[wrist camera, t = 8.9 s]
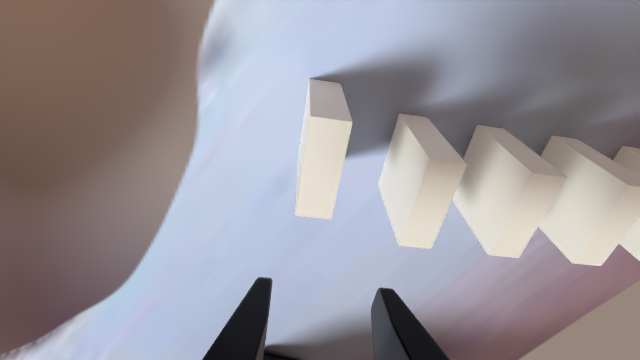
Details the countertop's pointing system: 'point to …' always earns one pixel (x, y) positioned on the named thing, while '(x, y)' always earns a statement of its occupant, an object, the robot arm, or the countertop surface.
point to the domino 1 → (322, 149)
